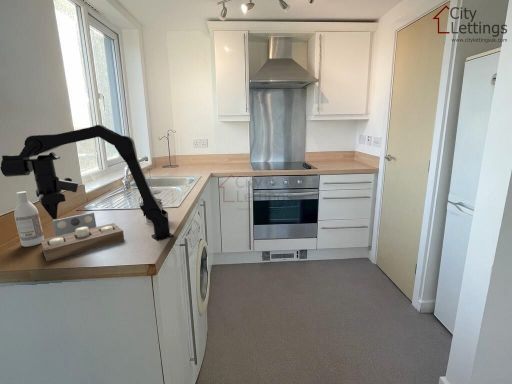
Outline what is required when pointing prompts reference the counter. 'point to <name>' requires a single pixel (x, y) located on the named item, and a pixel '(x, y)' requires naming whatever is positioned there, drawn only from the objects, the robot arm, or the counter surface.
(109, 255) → the counter surface
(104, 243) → the board
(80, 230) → the button middle
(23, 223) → the bath foam
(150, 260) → the counter surface
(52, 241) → the button
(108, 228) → the button
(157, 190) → the french press
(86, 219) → the placard
